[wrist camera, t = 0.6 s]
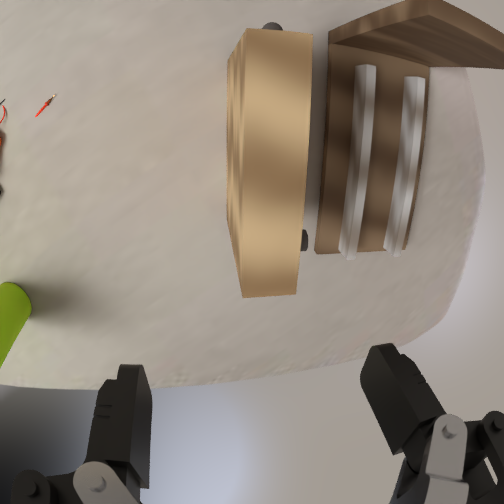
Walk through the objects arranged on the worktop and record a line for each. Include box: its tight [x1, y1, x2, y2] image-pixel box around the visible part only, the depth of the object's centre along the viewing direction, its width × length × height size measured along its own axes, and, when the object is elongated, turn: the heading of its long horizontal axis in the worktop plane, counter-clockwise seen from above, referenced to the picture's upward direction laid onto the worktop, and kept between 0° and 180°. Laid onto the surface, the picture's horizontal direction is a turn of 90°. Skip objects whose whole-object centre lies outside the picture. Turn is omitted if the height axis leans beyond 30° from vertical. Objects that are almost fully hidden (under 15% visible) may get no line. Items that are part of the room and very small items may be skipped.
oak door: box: [227, 22, 313, 298], centre depth 23 cm, size 17×5×14 cm, turn 179°
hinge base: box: [314, 0, 504, 260], centre depth 24 cm, size 24×12×16 cm, turn 179°
